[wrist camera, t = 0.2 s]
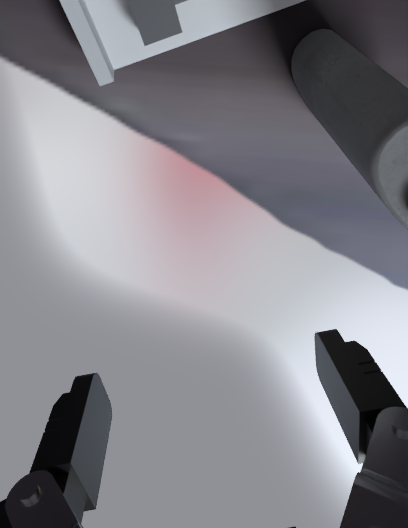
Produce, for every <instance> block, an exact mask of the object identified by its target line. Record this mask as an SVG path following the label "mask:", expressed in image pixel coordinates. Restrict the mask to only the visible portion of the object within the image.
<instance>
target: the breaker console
mask: <svg viewBox="0 0 408 528" xmlns="http://www.w3.org/2000/svg"><path fill="white" fill-rule="evenodd" d="M59 1H60V3H61V5H62V7H63V9H64V11H65V13H66V16H67V18H68V20H69V22H70V24H71V26H72V28H73V30H74V32H75V35H76V37H77V39H78V41H79V43H80V45H81V47H82V49H83V51H84V54H85V56H86V58H87V60H88V62H89V64H90V66H91V68H92V71H93V73H94V75H95V77H96V79H97V81H98V83H99V85H100V86H102V85H105V84H108V83H111V82H113V81H114V70H115V69H118V68H121V67H124V66H126V65H129V64H132V63H135V62H137V61H140V60H143V59H146V58H148V57H151V56H154V55H157V54H159V53H162V52H165V51H168V50H170V49H173V48H176V47H179V46H181V45H184V44H187V43H190V42H193V41H195V40H198V39H201V38H204V37H206V36H209V35H212V34H215V33H217V32H220V31H223V30H226V29H228V28H231V27H234V26H237V25H239V24H242V23H245V22H248V21H250V20H253V19H256V18H259V17H261V16H264V15H267V14H270V13H273V12H275V11H278V10H281V9H284V8H286V7H289V6H292V5H295V4H297V3H300V2H303V1H306V0H59Z"/></svg>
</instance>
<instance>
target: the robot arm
mask: <svg viewBox="0 0 408 528" xmlns="http://www.w3.org/2000/svg"><path fill="white" fill-rule="evenodd" d="M315 351H316V352H315V353H316V367H317V372H318V376H319V379H320V382H321V384H322V386H323V388H324V390H325V392H326V395H327V397H328V399H329V401H330V403H331V406H332V408H333V410H334V412H335V414H336V416H337V418H338V421H339V423H340V425H341V427H342V429H343V431H344V434H345V436H346V438H347V440H348V442H349V444H350V447H351V449H352V451H353V453H354V455H355V458H356V460H357V462H358V464H360V463H363V466H362V470H361V472H360V473H359V472H358V473H357V475H356V477H355V480H354V483H353V486H352V490H351V493H350V496H349V500H348V503H347V506H346V509H345V513H344V516H343V519H342V522H341V526H340V528H408V408H407V407H406V406H405V405H404V403H403V402H402V401H401V399H400V397H399V396H398V394H397V393H396V391H395V390H394V388H393V387H392V385H391V384H390V383H389V381H388V380H387V378H386V377H385V375H384V374H383V372H381V369H380V368H379V366H378V365H377V363H375V361H374V359H373V357H372V356H371V354H370V353H369V352H368V350H367V349H366V348H364V347H363V346H361V345H360V344H359V343H357V342H356V341H350V342H344V340H343V338H342V337H341V335H340V334H339V332H338V331H337V330H336V329H334V330H328V331H323V332H318V333H315ZM111 409H112V408H111V403H110V400H109V398H108V395H107V393H106V391H105V388H104V386H103V384H102V381H101V379H100V377H99V375H98V374H97V373H92V374H87V375H82V376H77V377H75V379H74V381H73V384H72V388H71V391H70V392H69V393H64V394H62V396H61V397H60V398H59V399H58V401H57V402H56V403H55V404H54V406H53V408H52V411H51V414H50V417H49V422H47V425H46V428H45V432H44V433H43V436H42V439H41V442H40V445H39V448H38V450H37V453H36V456H35V459H34V462H33V464H32V467H31V470H30V473H29V474H28V475H26V476H24V477H23V478H22V479H20V480H19V481H18V482H17V483H16V484H15V485H14V487H13V488H12V489H11V491H10V492H9V494H8V496H7V498H6V499H5V500H3V501H1V502H0V528H83V527H82V525H81V522H82V517H83V512H84V511H88V510H94V509H96V505H97V498H98V493H99V488H100V482H101V476H102V470H103V465H104V459H105V454H106V447H107V442H108V437H109V431H110V425H111V420H112V410H111ZM291 528H296V527H291Z"/></svg>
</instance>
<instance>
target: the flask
mask: <svg viewBox="0 0 408 528" xmlns="http://www.w3.org/2000/svg"><path fill="white" fill-rule="evenodd" d="M291 71H292V76H293V80H294V83H295V85H296V87H297V89H298V91H299V93H300V95H301V97H302V98H303V100H304V102H305V103H306V105H307V106H308V108H309V109H310V111H311V112H312V113H313V115H314V116H315V117H316V118H317V120H318V121H319V122H320V123H321V125H322V126H323V127H324V128H325V130H326V131H327V132H328V134H329V135H330V136H331V137H332V139H333V140H334V141H335V142H336V144H337V145H338V146H339V147H340V149H341V150H342V151H343V153H344V154H345V155H346V156H347V158H348V159H349V160H350V161H351V163H352V164H353V165H354V166H355V168H356V169H357V170H358V172H359V173H360V174H361V175H362V177H363V178H364V179H365V180H366V182H367V183H368V184H369V185H370V187H371V188H372V189H373V191H374V192H375V193H376V194H377V196H378V197H379V198H380V199H381V201H382V202H383V203H384V204H385V206H386V207H387V208H388V210H389V211H390V212H391V213H392V215H393V216H394V217H395V218H396V219H397V220H398V221H399V222H400V223H401V225H403V226H404V227H405V228H406V229H407V230H408V88H407V87H405V86H404V85H403V84H402V83H400V82H399V81H398V80H396V79H395V78H394V77H392V76H391V75H390V74H388V73H387V72H386V71H385V70H383V69H382V68H381V67H379V66H378V65H377V64H375V63H374V62H373V61H371V60H370V59H369V58H368V57H366V56H365V55H364V54H362V53H361V52H360V51H358V50H357V49H356V48H354V47H353V46H352V45H350V44H349V43H348V42H347V41H345V40H344V39H343V38H341V37H340V36H339V35H337V34H336V33H335V32H333V31H332V30H329V29H319V30H315V31H312V32H310V33H309V34H308V35H307V36H305V37H304V38H303V39H302V40H301V41H300V42H299V44H298V45H297V47H296V48H295V50H294V53H293V56H292V59H291Z"/></svg>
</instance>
